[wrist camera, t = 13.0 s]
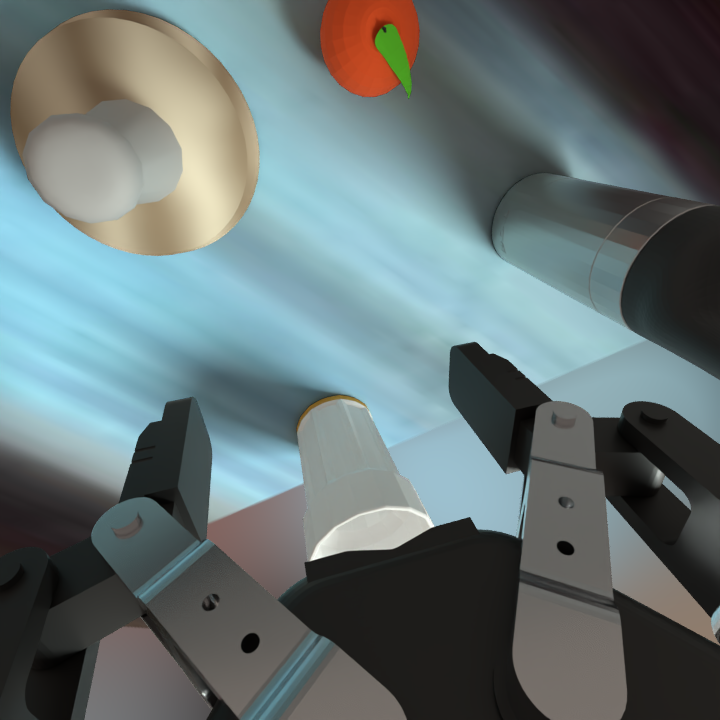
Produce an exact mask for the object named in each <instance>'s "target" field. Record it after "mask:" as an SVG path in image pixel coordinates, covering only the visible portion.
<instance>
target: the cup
mask: <svg viewBox="0 0 720 720" xmlns="http://www.w3.org/2000/svg"><path fill="white" fill-rule="evenodd" d="M296 430H297V437H298V444H299V451H300V458H301V465H302V473H303V480H304V487H305V494H306V500H307V511H306V513H305V516H304V518H303V526H304V534H305V542H306V550H307V558H308V562H309V561H312V560H316V559H319V558H323V557H327V556H330V555H334V554H338V553H341V552H345V551H357V550H387V549H394V548H397V547H399V546H400V545H402V544H404V543H406V542H407V541H409V540H411V539H413V538H414V537H416V536H418V535H420V534H421V533H423V532H425V531H426V530H428V529H430V528H432V527H434V525H433V523H432V521H431V519H430V518H429V515H428V513H427V512H426V509H425V508H424V506H423V504H422V502H421V500H420V498H419V496H418V495H417V492H416V491H415V489H414V487H413V486H412V484H411V482H410V480H409V479H407V478H405V477H403V476H401V475H400V474H399V472H398V470H397V468H396V466H395V464H394V462H393V460H392V458H391V456H390V454H389V452H388V450H387V448H386V446H385V444H384V442H383V440H382V438H381V436H380V434H379V432H378V430H377V428H376V426H375V424H374V422H373V418H372V416H371V414H370V412H369V410H368V408H367V407H366V405H365V404H364V403H362V402H361V401H359V400H357V399H355V398H353V397H349V396H342V395H337V396H331V397H327V398H324V399H321V400H319V401H317V402H316V403H314V404H312V405H310V406H309V407H308V408H307V410H306V411H305V412H304V413H303V414H302V416H301V417H300V420H299V422H298V425H297V428H296Z"/></svg>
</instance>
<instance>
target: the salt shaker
mask: <svg viewBox="0 0 720 720" xmlns="http://www.w3.org/2000/svg"><path fill="white" fill-rule="evenodd" d="M22 156H23V160H24V164H25V168H26V172H27V177H28V180H29V181H30V183H31V184H32V185H33V187H34V188H35V190H36V191H37V192H38V194H39V195H40V197H41V198H42V200H43V201H44V202H45V203H47V204H48V205H50V206H51V207H53V208H54V209H56V210H57V211H59V212H60V213H62V214H63V215H64V216H66V217H69V218H72V219H76V220H80V221H83V222H87V223H90V224H91V223H99V222H105V221H112V220H118V219H119V218H121V217H122V216H124V215H125V214H126V213H128V212H129V211H131V210H132V209H133V208H135V206H136V205H137V204H144V203H150V202H157V201H160V200H161V199H163V198H164V197H166V196H167V195H169V194H170V193H171V192H173V191H174V190H175V189H176V186H177V184H178V182H179V179H180V177H181V174H182V172H183V165H182V148H181V147H180V145H179V143H178V141H177V139H176V137H175V135H174V133H173V131H172V129H171V127H170V126H169V125H168V124H167V123H166V122H165V121H164V120H163V119H162V118H161V117H159V116H158V115H157V114H156V113H155V112H154V111H153V110H152V109H151V108H149V107H146V106H143V105H140V104H138V103H135V102H132V101H130V100H127V99H121V100H110V101H102V102H100V103H99V104H98V105H97V106H95V107H94V108H93V109H91V110H90V111H89V112H87V113H86V114H85V115H84V114H80V113H73V114H61V115H51V116H50V117H48V118H47V119H46V120H45V121H43V122H42V123H41V124H40V125H38V126H37V127H36V128H35V129H33V130H32V131H31V132H30V133H29V135H28V138H27V141H26V144H25V147H24V151H23V154H22Z"/></svg>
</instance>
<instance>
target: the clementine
mask: <svg viewBox="0 0 720 720" xmlns="http://www.w3.org/2000/svg"><path fill="white" fill-rule="evenodd" d="M419 31H420V30H419V23H418V16H417V13H416V10H415V7H414V4H413V2H412V0H328V2H327V5H326V7H325V10H324V12H323V18H322V23H321V29H320V39H321V49H322V53H323V57H324V61H325V63H326V65H327V67H328V69H329V71H330V73H331V75H332V76H333V77H334V79H335V80H336V81H337V82H338V83H339V85H341V86H342V87H344V88H345V89H347V90H348V91H349V92H351V93H354V94H357V95H360V96H363V97H376V96H379V95H382V94H385V93H388V92H389V91H390V90H392V89H393V88H395V87H396V86H398V85H399V84H400V83H402V85H403V86H404V88H405V90H406V92H407V94H408V99H409V97H410V94H411V87H412V81H411V74H410V70H411V68H412V66H413V64H414V62H415V58H416V55H417V51H418V47H419Z"/></svg>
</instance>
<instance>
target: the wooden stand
mask: <svg viewBox="0 0 720 720" xmlns="http://www.w3.org/2000/svg"><path fill="white" fill-rule="evenodd" d="M121 99H127V100H130V101H132V102H135V103H138V104H140V105H143V106H146V107H149V108H151V109H152V110H153V111H154V112H155V113H156V114H157V115H158V116H159V117H161V118H162V119H163V120H164V121H165V122H166V123H167V124H168V125H169V126H170V127H171V129H172V131H173V133H174V135H175V137H176V139H177V141H178V143H179V145H180V147H181V148H182V165H183V172H182V174H181V177H180V179H179V182H178V184H177V186H176V189H175V190H174V191H173V192H171V193H170V194H169V195H167V196H166V197H164V198H163V199H161V200H160V201H157V202H150V203H144V204H137V205H136V206H135V208H133V209H132V210H131V211H129V212H128V213H126V214H125V215H124V216H122V217H121V218H119V219H118V220H112V221H105V222H99V223H91V224H90V223H87V222H83V221H80V220H76V219H72V218H69V217H66V216H64V215H63V214H62V213H60V212H59V211H57V210H56V209H55V210H56V211H57V212H58V213H59V214H60V215H61V216H62V217H63V218H64V219H65V220H67V221H68V222H69V223H70V224H72V225H73V226H74V227H75V228H77V229H78V230H80V231H81V232H83V233H84V234H86V235H87V236H89V237H91V238H93V239H95V240H97V241H99V242H101V243H103V244H105V245H108V246H110V247H113V248H115V249H118V250H122V251H125V252H129V253H134V254H140V255H152V256H161V255H172V254H177V253H184V252H188V251H193V250H196V249H199V248H202V247H205V246H207V245H209V244H211V243H213V242H215V241H217V240H218V239H220V238H221V237H222V236H224V235H225V234H227V233H228V232H229V231H230V230H231V229H232V228H233V227H234V226H235V225H236V224H237V222H238V221H239V220H240V219H241V217H242V216H243V215H244V213H245V211H246V210H247V208H248V206H249V204H250V202H251V199H252V197H253V195H254V192H255V188H256V184H257V180H258V173H259V145H258V137H257V133H256V128H255V124H254V121H253V118H252V115H251V112H250V109H249V107H248V104H247V102H246V100H245V98H244V96H243V94H242V92H241V90H240V89H239V87H238V86H237V84H236V82H235V81H234V79H233V78H232V76H231V75H230V74H229V72H228V71H227V70H226V69H225V67H224V66H223V65H222V63H221V62H220V61H219V60H218V59H217V58H216V57H215V56H214V55H213V54H212V53H211V52H210V51H209V50H208V49H207V48H206V47H204V46H203V45H202V44H201V43H200V42H198V41H197V40H196V39H195V38H193V37H192V36H190V35H189V34H187V33H186V32H184V31H182V30H181V29H179V28H178V27H176V26H174V25H172V24H170V23H168V22H165V21H163V20H161V19H159V18H156V17H153V16H150V15H146V14H143V13H138V12H133V11H128V10H109V9H107V10H99V11H91V12H88V13H84V14H81V15H78V16H75V17H73V18H71V19H69V20H67V21H65V22H63V23H61V24H59V25H58V26H57V27H56V28H54V29H53V30H52V31H50V32H49V33H48V34H46V35H45V36H44V37H43V38H41V39H40V40H39V41H38V42H37V43H36V44H35V45H34V46H33V47H32V48H31V50H30V51H29V52H28V53H27V55H26V56H25V58H24V60H23V61H22V63H21V65H20V67H19V69H18V72H17V75H16V77H15V80H14V84H13V89H12V95H11V112H10V114H11V123H12V131H13V135H14V139H15V143H16V147H17V150H18V153H19V155H20V158H21V160H22V163H23V165H24V167H25V164H24V160H23V156H22V154H23V151H24V147H25V144H26V141H27V138H28V135H29V133H30V132H31V131H32V130H33V129H35V128H36V127H37V126H38V125H40V124H41V123H42V122H43V121H45V120H46V119H47V118H48V117H50V116H51V115H61V114H73V113H80V114H84V115H85V114H86V113H87V112H89V111H90V110H91V109H93V108H94V107H95V106H97V105H98V104H99V103H100V102H102V101H110V100H121ZM25 169H26V168H25Z"/></svg>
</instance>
